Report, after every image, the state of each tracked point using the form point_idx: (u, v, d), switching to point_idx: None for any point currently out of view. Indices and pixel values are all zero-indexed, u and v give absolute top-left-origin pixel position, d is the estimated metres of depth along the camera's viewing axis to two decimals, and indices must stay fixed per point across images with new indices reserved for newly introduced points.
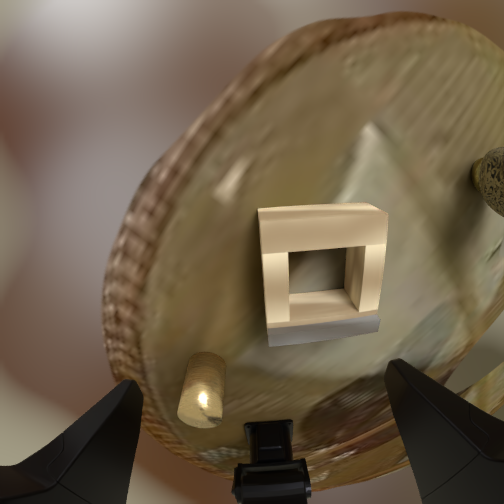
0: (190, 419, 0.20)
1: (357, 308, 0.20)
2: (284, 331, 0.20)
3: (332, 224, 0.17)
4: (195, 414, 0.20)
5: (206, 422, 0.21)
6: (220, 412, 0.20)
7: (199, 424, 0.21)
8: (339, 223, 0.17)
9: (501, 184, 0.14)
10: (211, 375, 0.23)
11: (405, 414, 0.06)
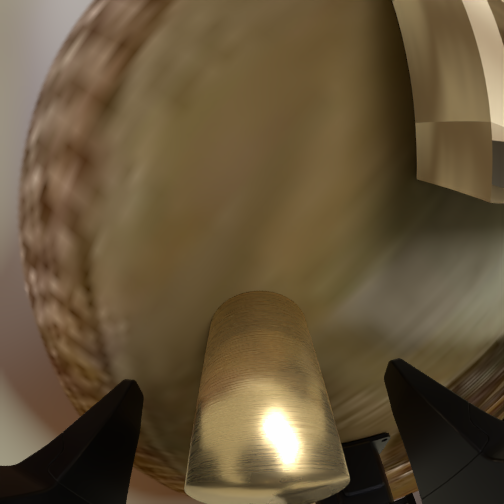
0: (232, 499, 0.05)
1: None
2: None
3: None
4: (254, 493, 0.04)
5: (285, 501, 0.05)
6: (348, 472, 0.04)
7: None
8: None
9: None
10: (295, 349, 0.07)
11: (405, 414, 0.06)
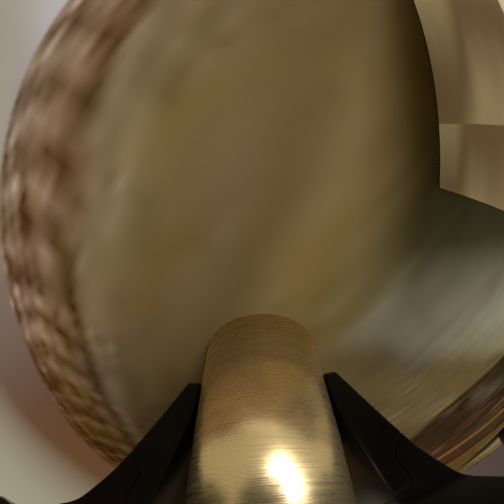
0: None
1: None
2: None
3: None
4: None
5: None
6: None
7: None
8: None
9: None
10: (304, 388, 0.06)
11: None
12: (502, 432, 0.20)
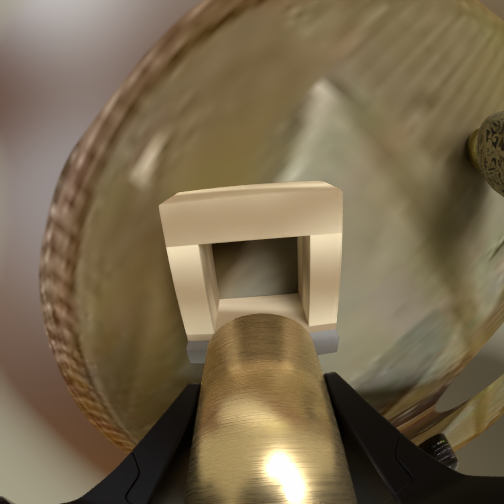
0: None
1: (308, 321, 0.16)
2: (207, 346, 0.15)
3: (256, 205, 0.13)
4: None
5: None
6: None
7: None
8: (267, 204, 0.13)
9: None
10: (304, 388, 0.06)
11: None
12: None
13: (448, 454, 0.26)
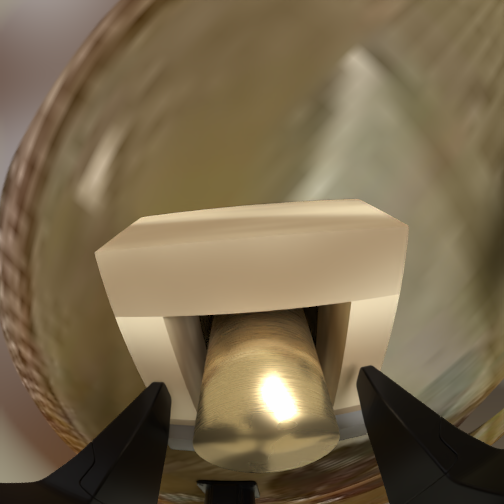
0: (235, 455, 0.06)
1: None
2: (191, 435, 0.09)
3: (261, 256, 0.07)
4: (255, 444, 0.06)
5: (282, 459, 0.06)
6: (337, 426, 0.06)
7: (259, 466, 0.06)
8: (281, 253, 0.07)
9: None
10: (289, 320, 0.09)
11: (374, 424, 0.06)
12: None
13: None
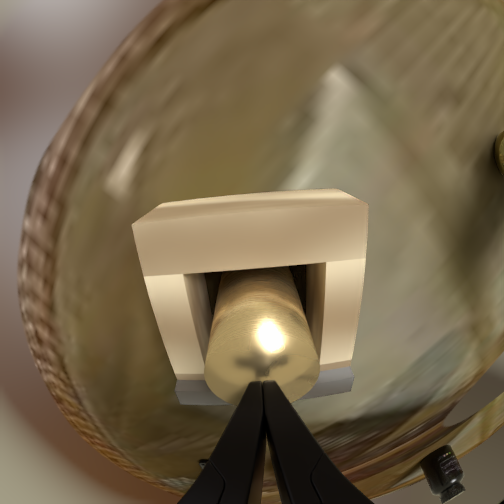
0: (237, 384, 0.09)
1: (318, 358, 0.13)
2: (199, 387, 0.12)
3: (257, 225, 0.10)
4: (253, 369, 0.08)
5: None
6: (317, 357, 0.09)
7: None
8: (271, 223, 0.10)
9: None
10: (280, 280, 0.12)
11: (269, 442, 0.06)
12: (422, 462, 0.29)
13: (454, 466, 0.23)
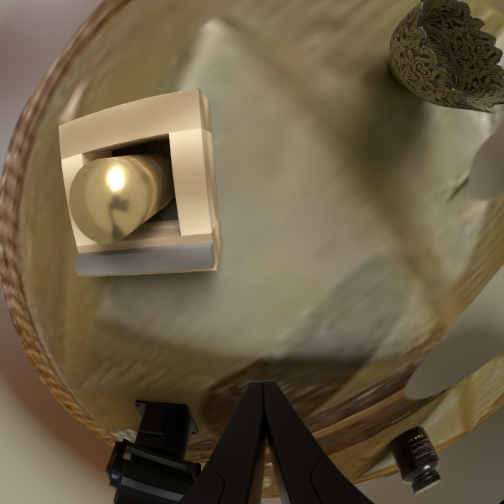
0: (87, 212, 0.11)
1: (182, 231, 0.15)
2: (89, 255, 0.14)
3: (123, 112, 0.12)
4: (95, 194, 0.11)
5: (112, 219, 0.11)
6: (138, 184, 0.11)
7: (102, 231, 0.11)
8: (131, 110, 0.12)
9: (410, 42, 0.09)
10: (146, 157, 0.14)
11: (269, 442, 0.06)
12: (391, 444, 0.32)
13: (427, 451, 0.26)
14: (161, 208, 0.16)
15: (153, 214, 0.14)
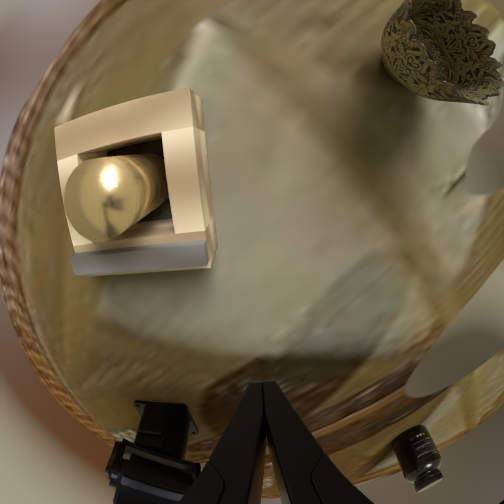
0: (82, 211, 0.11)
1: (175, 229, 0.15)
2: (85, 255, 0.14)
3: (116, 113, 0.12)
4: (88, 194, 0.11)
5: (106, 218, 0.11)
6: (130, 183, 0.11)
7: (96, 230, 0.11)
8: (124, 110, 0.12)
9: (401, 36, 0.09)
10: (139, 157, 0.14)
11: (269, 442, 0.06)
12: (393, 443, 0.32)
13: (429, 449, 0.26)
14: (156, 207, 0.16)
15: (147, 213, 0.14)
